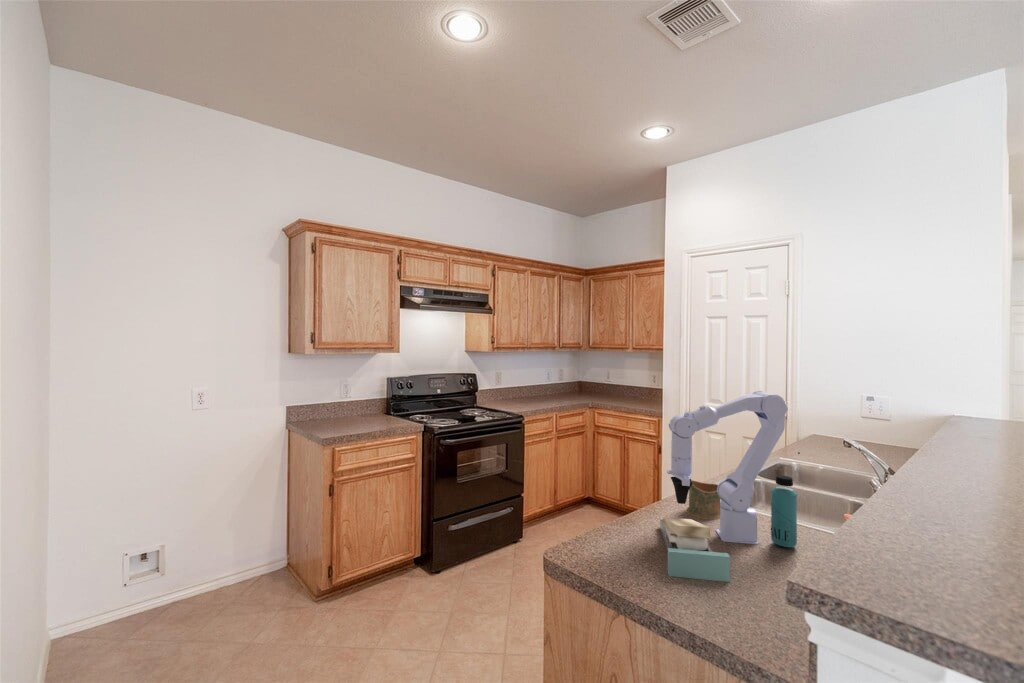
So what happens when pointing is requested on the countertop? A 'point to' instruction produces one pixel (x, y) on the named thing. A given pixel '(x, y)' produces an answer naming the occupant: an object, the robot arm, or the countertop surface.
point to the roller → (691, 543)
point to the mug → (704, 501)
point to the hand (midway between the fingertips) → (681, 502)
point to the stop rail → (699, 564)
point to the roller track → (672, 538)
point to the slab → (686, 527)
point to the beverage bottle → (784, 513)
